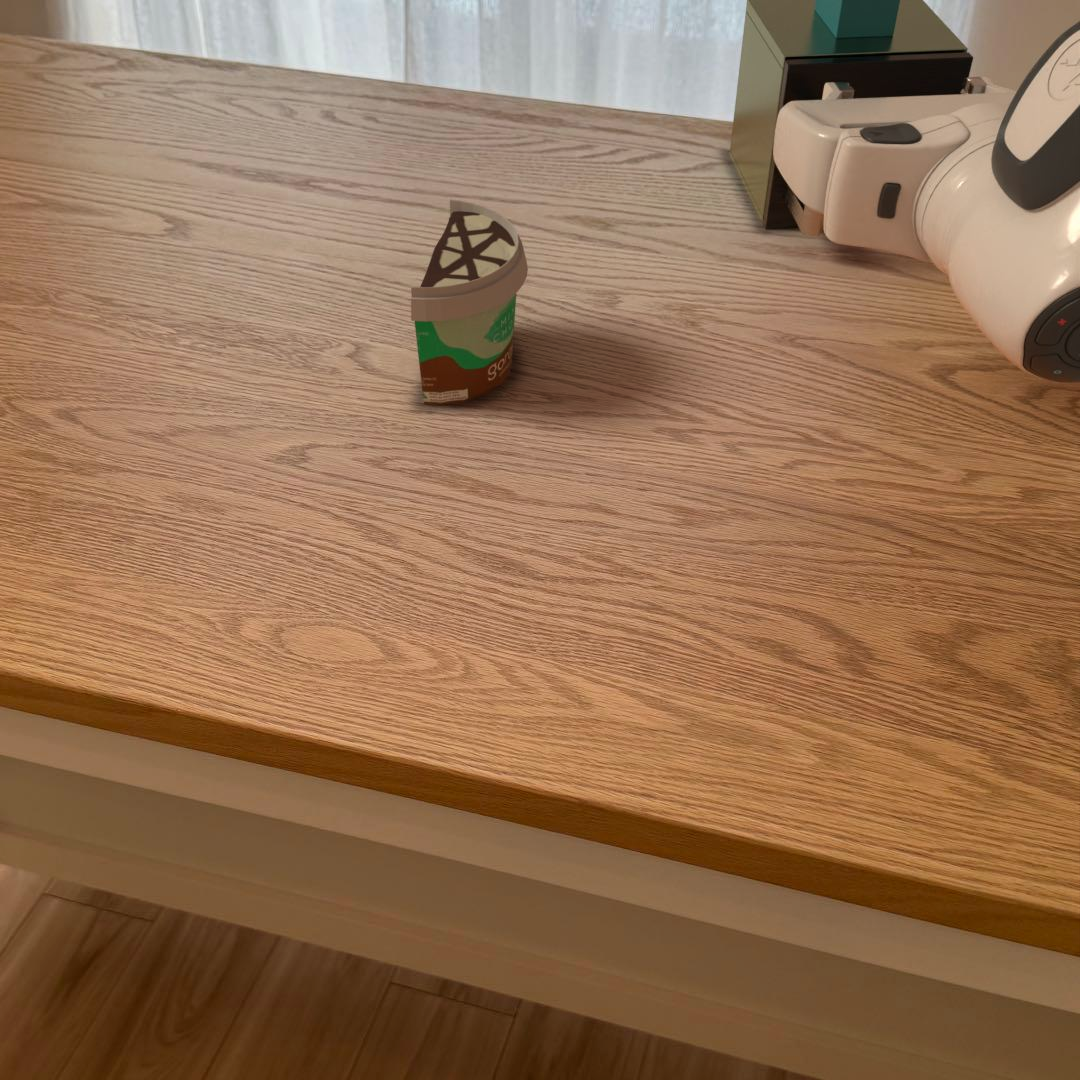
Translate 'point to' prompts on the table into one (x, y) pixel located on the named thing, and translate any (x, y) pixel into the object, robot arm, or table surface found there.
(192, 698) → the table surface
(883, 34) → the detergent bottle
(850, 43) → the olive green small cabinet
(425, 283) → the food container
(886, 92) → the black cabinet door
